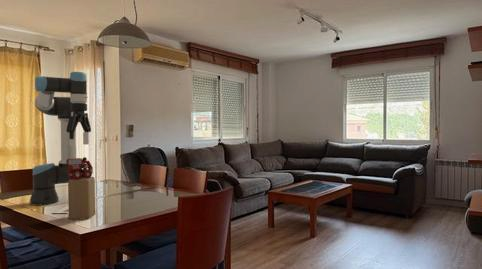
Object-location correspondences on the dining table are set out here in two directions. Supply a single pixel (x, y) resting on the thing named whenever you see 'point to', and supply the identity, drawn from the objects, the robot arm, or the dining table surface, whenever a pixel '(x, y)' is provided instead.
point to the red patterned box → (79, 168)
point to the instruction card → (63, 210)
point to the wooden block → (81, 198)
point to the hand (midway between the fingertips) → (79, 145)
